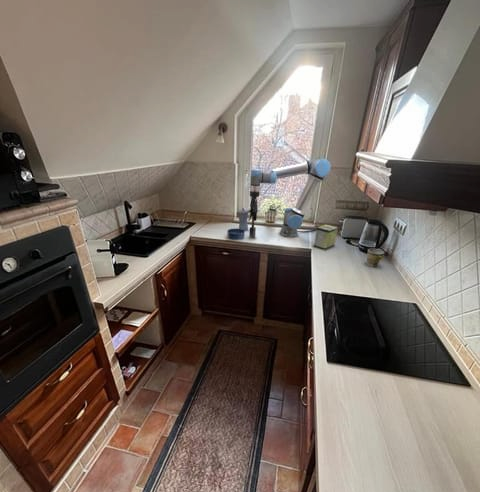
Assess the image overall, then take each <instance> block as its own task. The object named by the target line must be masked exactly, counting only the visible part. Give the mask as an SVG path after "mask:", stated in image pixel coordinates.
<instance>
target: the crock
mask: <svg viewBox="0 0 480 492" xmlns="http://www.w3.org/2000/svg"><path fill="white" fill-rule="evenodd" d="M256 230H257V228H256V226H254V229H252V226H250V227H249V229H248V232H249V233H248V238H249V239H256V233H257V231H256Z"/></svg>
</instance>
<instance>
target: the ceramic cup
mask: <svg viewBox="0 0 480 492" xmlns="http://www.w3.org/2000/svg"><path fill="white" fill-rule="evenodd" d="M384 254H385V251H383V250H381V249H378V248H368V249H367V253H366V263H365V264H366V265H367V266H369V267H373V268H375V267H377V266H378V264H379V263H380V261H383V257H384Z"/></svg>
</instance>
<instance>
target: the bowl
mask: <svg viewBox="0 0 480 492" xmlns="http://www.w3.org/2000/svg"><path fill="white" fill-rule="evenodd" d="M245 232H246V231H244V230H242V229H239V228H229V229H227V231H226V238H227V239H228V240H231V241H241V240H244V239H245Z"/></svg>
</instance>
